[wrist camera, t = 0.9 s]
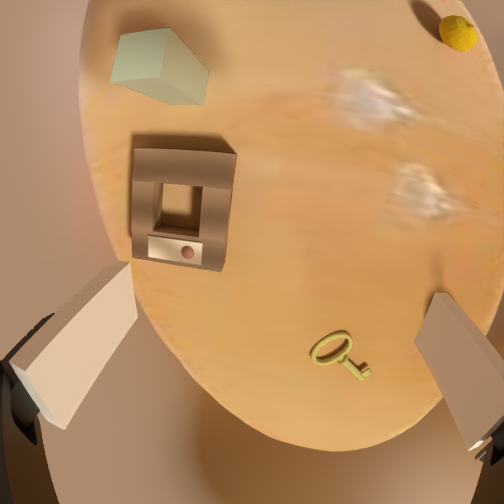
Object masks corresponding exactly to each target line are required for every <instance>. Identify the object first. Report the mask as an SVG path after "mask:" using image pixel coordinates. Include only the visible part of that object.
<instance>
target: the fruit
mask: <svg viewBox="0 0 504 504" xmlns="http://www.w3.org/2000/svg"><path fill="white" fill-rule="evenodd" d="M439 33H440V36H441V38H442V41H443V42H444V43H445V44H447V45H448V46H449V47H451V48H453V49H455V50H458V51H468V50H470V49H471V48H473V47H474V46H475V44H476V42H477V33H476V30H475V28H474V26H473V25H472V24H471V23H470V22H469V21H468V20H466V19H465V18H463V17H461V16H453V15H452V16H447V17H445V18H443V19H442V21H441V22H440V24H439Z"/></svg>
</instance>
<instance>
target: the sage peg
mask: <svg viewBox="0 0 504 504" xmlns="http://www.w3.org/2000/svg"><path fill="white" fill-rule="evenodd" d="M208 75H209V72H208V70H207V69H206V68H205V67H204V66H203V64H202V63H201V62H200V61H199V60H198V58H197V57H196V56H195V55H194V54H193V53H192V51H191V50H190V49H189V48H188V47H187V46H186V44H185V43H184V42H183V41H182V40H181V39H180V38H179V37H178V35H177V34H176V33H175V32H174V31H173V30H172V29H171V28H161V29H153V30H146V31H140V32H134V33H128V34H123V35H121V36H120V39H119V43H118V47H117V51H116V56H115V60H114V65H113V69H112V74H111V80H110V83H113V84H116V85H119V86H122V87H125V88H128V89H130V90H133V91H136V92H138V93H141V94H144V95H146V96H149V97H151V98H154V99H156V100H159V101H161V102H164V103H166V104H169V105H204V101H205V95H206V88H207V82H208Z"/></svg>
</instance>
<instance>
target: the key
mask: <svg viewBox="0 0 504 504" xmlns="http://www.w3.org/2000/svg"><path fill="white" fill-rule="evenodd" d="M342 337H343V338H347V339H348V343H347V344H346V346H345V347H344V348H343V349H342V350H341V351H339V352H338V353H336V354H335V355H333V356H331V357H329V358H326V359H318V358H317V357H316V354H317V352H318V350H319V349H320V348H321V347H322V346H323V345H324V344H326V343H327V342H329V341H331V340H333V339H336V338H342ZM351 347H352V337H351V335H350V334H349V333H347V332H336V333H333V334H330V335H328V336H326V337H325V338H323V339H322V340H320V341H319V342H318V343H317V344H316V345H315V346H314V348H313V349H312V351H311V358H312V360H313V362H314V363H316V364H318V365H327V364H331V363H333V362H335V361H337V360H338V363H339V364H340V365H342V364H343V365H344V366H345V367H346V368H347V369H348V370H349V371H350V372H351V373H352V374H353V375H355V376H356V377H357V378H358V379H359V380H360V381H363V380H364V379H365V377H366V376H367V375H369V374H371V373H372V371H371V370H370V369H369V368H368V369H366V370H365V371H363V372H362V373H361V372H360V371H359V370H358V369H357V368H356V367H355V366H354V365H353V364H352V363H351V362H350V361H349V360H348V356H347V355H346V353H347V352H348V351H349V350H350V348H351Z"/></svg>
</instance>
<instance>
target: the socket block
mask: <svg viewBox="0 0 504 504" xmlns="http://www.w3.org/2000/svg"><path fill="white" fill-rule="evenodd" d="M236 157H237V154H232V153H222V152H211V151H198V150H183V149H161V148H134V159H133V175H132V205H131V231H132V258H137V259H143V260H149V261H155V262H161V263H167V264H173V265H179V266H185V267H191V268H198V269H204V270H211V271H217V272H221V271H222V269H223V266H224V264H225V257H226V246H227V237H228V227H229V217H230V208H231V199H232V190H233V182H234V173H235V165H236ZM163 183H167V184H179V185H190V186H200V187H203V191H202V203H201V215H200V229H199V230H198V229H190V228H183V227H175V226H167V225H161V218H162V195H163Z"/></svg>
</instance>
